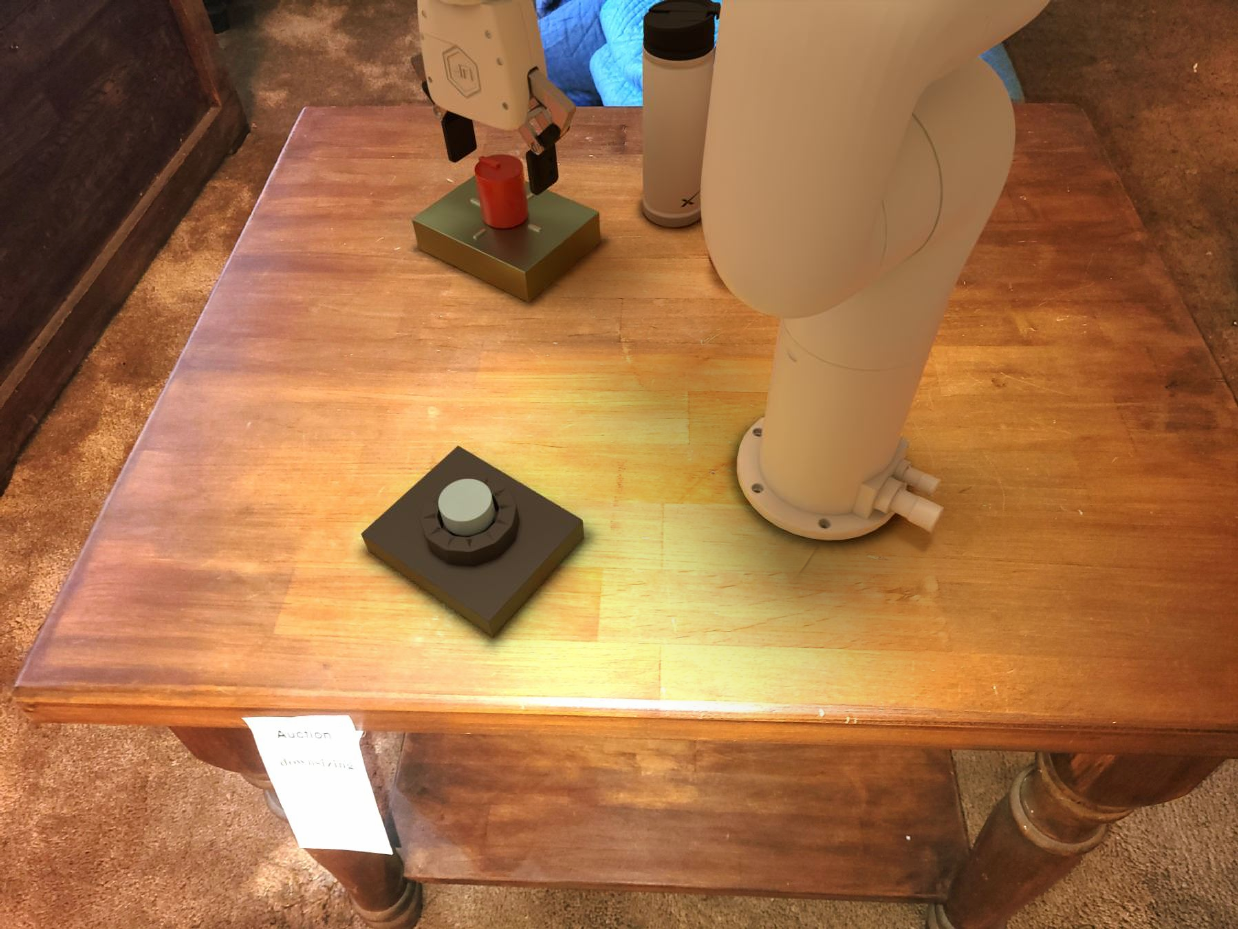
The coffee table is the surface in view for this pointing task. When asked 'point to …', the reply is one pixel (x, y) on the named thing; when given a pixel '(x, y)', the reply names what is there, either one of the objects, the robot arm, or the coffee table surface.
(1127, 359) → the coffee table surface
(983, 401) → the coffee table surface
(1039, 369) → the coffee table surface
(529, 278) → the panel
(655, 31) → the travel mug
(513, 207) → the tap knob
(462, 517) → the button
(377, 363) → the coffee table surface
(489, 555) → the button box
